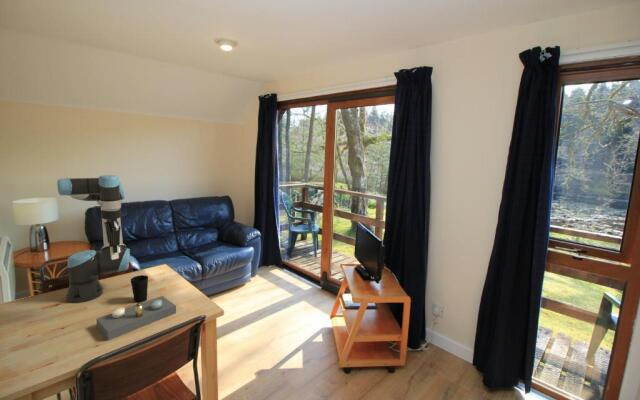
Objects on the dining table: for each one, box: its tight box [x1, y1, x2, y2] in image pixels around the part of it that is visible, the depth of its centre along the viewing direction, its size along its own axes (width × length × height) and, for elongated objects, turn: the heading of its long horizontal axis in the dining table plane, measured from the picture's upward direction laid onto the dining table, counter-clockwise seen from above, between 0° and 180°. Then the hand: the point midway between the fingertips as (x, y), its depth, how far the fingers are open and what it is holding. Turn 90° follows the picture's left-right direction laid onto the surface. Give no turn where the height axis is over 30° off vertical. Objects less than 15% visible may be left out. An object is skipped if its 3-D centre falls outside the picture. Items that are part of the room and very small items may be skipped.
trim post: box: [134, 302, 143, 318], centre depth 134 cm, size 3×3×6 cm
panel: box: [96, 295, 177, 341], centre depth 138 cm, size 14×28×4 cm, turn 142°
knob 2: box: [150, 300, 162, 310], centre depth 141 cm, size 5×5×6 cm
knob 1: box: [111, 306, 126, 319], centre depth 133 cm, size 5×5×6 cm
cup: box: [130, 274, 149, 304], centre depth 154 cm, size 8×8×12 cm
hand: (114, 258), depth 140 cm, fingers closed
